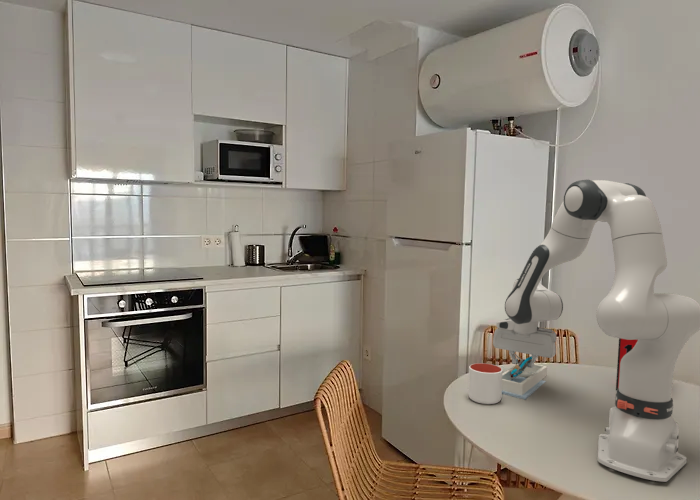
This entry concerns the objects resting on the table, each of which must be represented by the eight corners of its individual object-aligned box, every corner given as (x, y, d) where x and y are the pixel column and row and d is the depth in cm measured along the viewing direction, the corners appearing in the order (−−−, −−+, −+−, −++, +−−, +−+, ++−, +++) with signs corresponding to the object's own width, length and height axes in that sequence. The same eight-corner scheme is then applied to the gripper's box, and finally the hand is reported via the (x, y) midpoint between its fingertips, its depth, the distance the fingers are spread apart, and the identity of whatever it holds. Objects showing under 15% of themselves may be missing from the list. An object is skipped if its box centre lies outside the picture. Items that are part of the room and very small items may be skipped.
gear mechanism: (504, 386, 159) (521, 365, 156) (491, 374, 162) (507, 353, 159) (525, 373, 175) (541, 354, 172) (513, 363, 178) (528, 343, 174)
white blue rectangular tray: (525, 400, 152) (526, 386, 152) (488, 391, 160) (488, 377, 159) (551, 379, 173) (552, 366, 173) (518, 371, 181) (518, 359, 180)
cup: (467, 403, 149) (469, 371, 148) (467, 392, 158) (469, 361, 158) (502, 407, 146) (503, 374, 146) (500, 395, 156) (501, 364, 155)
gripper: (559, 328, 161) (557, 369, 162) (499, 319, 174) (497, 357, 174) (553, 331, 156) (551, 374, 157) (491, 322, 169) (490, 361, 169)
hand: (522, 365), depth 166 cm, fingers closed on gear mechanism, 4 cm apart
